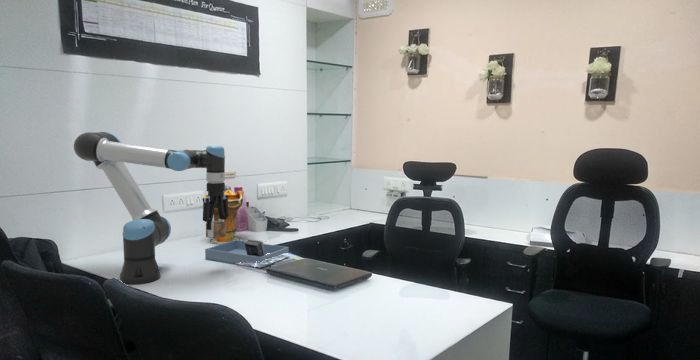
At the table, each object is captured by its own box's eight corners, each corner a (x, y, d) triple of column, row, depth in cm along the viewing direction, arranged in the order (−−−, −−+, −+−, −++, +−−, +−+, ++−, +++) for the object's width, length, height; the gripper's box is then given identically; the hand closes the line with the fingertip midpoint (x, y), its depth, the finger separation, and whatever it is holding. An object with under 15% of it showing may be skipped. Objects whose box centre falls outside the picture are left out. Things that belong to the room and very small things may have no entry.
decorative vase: (195, 243, 258) (196, 190, 257) (220, 236, 280) (221, 188, 278) (229, 246, 251) (230, 192, 250) (251, 239, 273) (253, 190, 272)
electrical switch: (266, 258, 228) (265, 239, 226) (259, 262, 224) (257, 242, 222) (252, 255, 233) (250, 237, 231) (244, 259, 229) (242, 240, 227)
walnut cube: (216, 238, 205) (216, 224, 204) (206, 237, 207) (205, 223, 207) (226, 235, 210) (226, 222, 209) (215, 234, 213) (215, 221, 212)
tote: (260, 268, 213) (260, 257, 213) (205, 259, 228) (205, 248, 227) (288, 257, 233) (288, 247, 232) (236, 249, 247) (236, 239, 247)
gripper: (206, 184, 196) (207, 240, 198) (237, 180, 213) (237, 232, 215) (192, 183, 199) (193, 238, 202) (224, 179, 216) (224, 230, 219)
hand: (216, 235), depth 209 cm, fingers closed on walnut cube, 6 cm apart
